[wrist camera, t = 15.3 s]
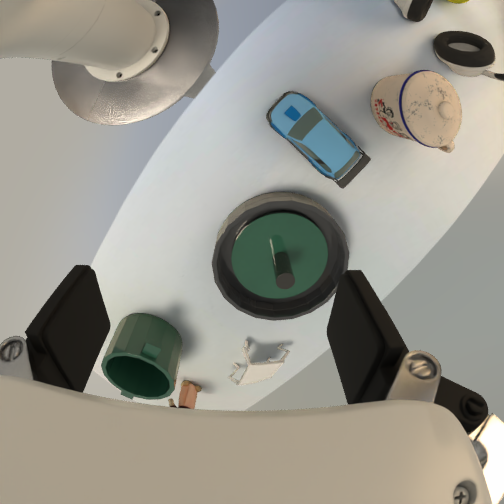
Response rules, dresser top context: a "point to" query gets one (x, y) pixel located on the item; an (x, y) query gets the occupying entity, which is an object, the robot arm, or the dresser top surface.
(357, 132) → the dresser top surface
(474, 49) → the headphones
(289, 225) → the lid
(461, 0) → the yellow-green teardrop shape
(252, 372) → the origami figure
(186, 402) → the grandmother figurine
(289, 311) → the pan
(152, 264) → the dresser top surface
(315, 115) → the toy car
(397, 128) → the teacup with lid
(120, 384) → the pot
